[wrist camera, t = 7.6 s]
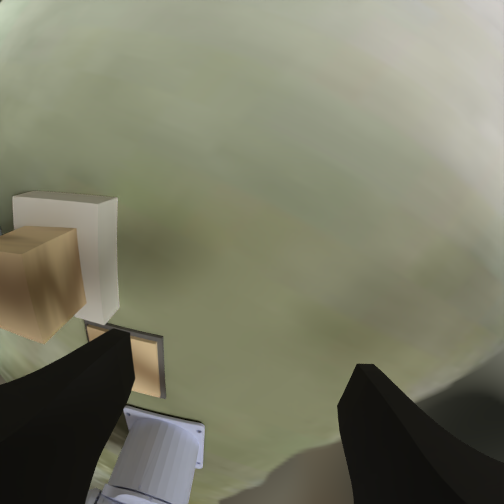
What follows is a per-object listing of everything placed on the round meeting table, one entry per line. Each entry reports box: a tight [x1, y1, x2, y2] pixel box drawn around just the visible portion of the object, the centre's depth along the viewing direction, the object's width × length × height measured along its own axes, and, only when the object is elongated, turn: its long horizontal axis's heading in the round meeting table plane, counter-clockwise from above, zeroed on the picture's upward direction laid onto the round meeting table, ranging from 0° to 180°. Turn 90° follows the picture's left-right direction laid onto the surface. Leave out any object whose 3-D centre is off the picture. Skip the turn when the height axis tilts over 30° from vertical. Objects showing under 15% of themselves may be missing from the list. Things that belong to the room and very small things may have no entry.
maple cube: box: [0, 226, 87, 344], centre depth 13 cm, size 5×5×5 cm
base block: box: [12, 191, 120, 325], centre depth 17 cm, size 8×8×3 cm
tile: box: [84, 320, 166, 399], centre depth 20 cm, size 7×7×1 cm
